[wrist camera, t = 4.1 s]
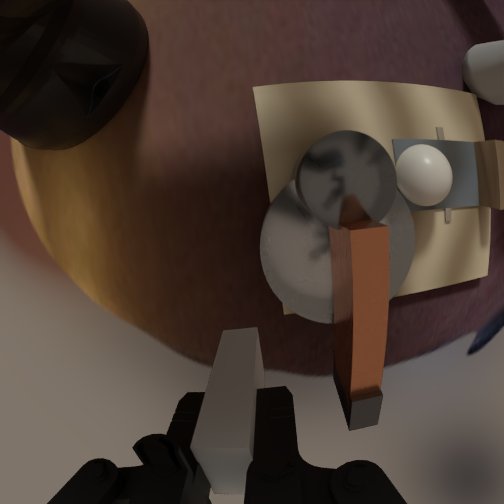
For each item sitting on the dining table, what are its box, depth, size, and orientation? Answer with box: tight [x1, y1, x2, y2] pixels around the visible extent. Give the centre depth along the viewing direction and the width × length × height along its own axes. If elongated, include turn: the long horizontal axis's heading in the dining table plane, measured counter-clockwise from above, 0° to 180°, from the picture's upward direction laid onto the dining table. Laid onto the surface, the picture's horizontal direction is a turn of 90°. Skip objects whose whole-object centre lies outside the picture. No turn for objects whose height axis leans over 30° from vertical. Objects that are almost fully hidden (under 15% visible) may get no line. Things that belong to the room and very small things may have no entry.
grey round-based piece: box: [260, 130, 415, 431], centre depth 15 cm, size 10×16×7 cm, turn 8°
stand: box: [253, 81, 504, 315], centre depth 17 cm, size 19×16×4 cm
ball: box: [395, 144, 453, 206], centre depth 15 cm, size 4×4×4 cm
